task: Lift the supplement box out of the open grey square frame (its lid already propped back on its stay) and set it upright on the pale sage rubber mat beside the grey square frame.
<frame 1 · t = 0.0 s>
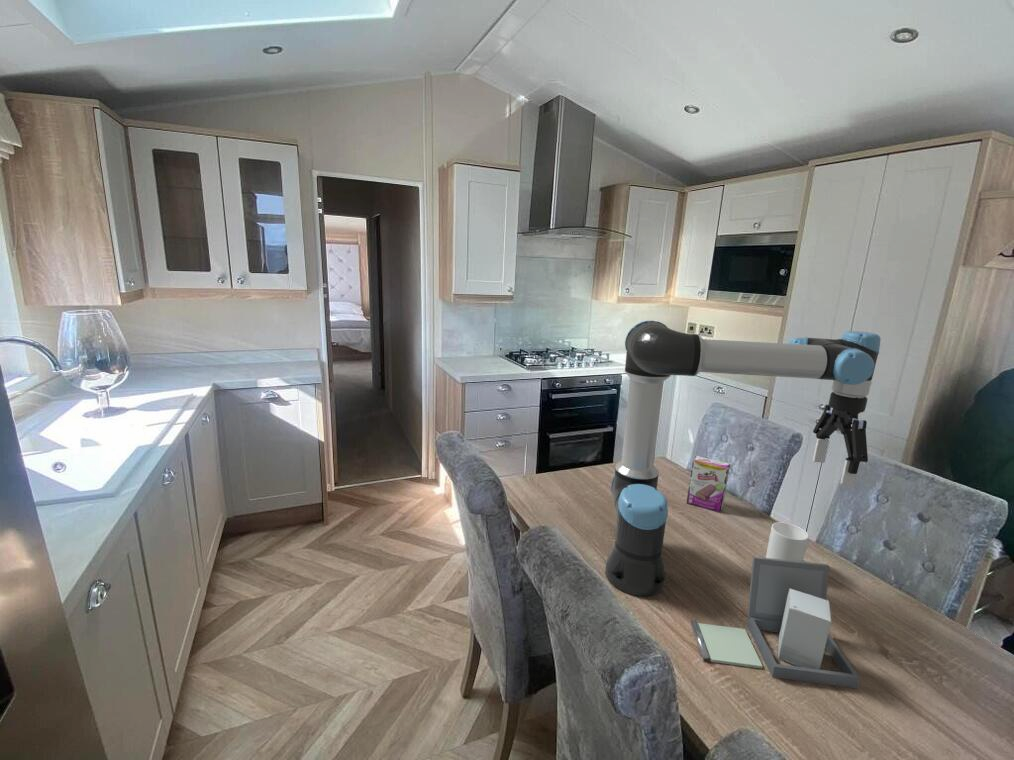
hand: (831, 472, 121), 28 cm above the table, fingers open, 13 cm apart
candy bar box: (704, 506, 158), on the table
supplement box: (797, 655, 98), resting in grey square frame
mat: (728, 645, 99), on the table
grey square frame: (797, 654, 97), on the table
lid: (787, 590, 103), point 9 cm above the table, hinge at 100.0°
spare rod: (699, 642, 100), on the table
mug: (787, 565, 128), on the table
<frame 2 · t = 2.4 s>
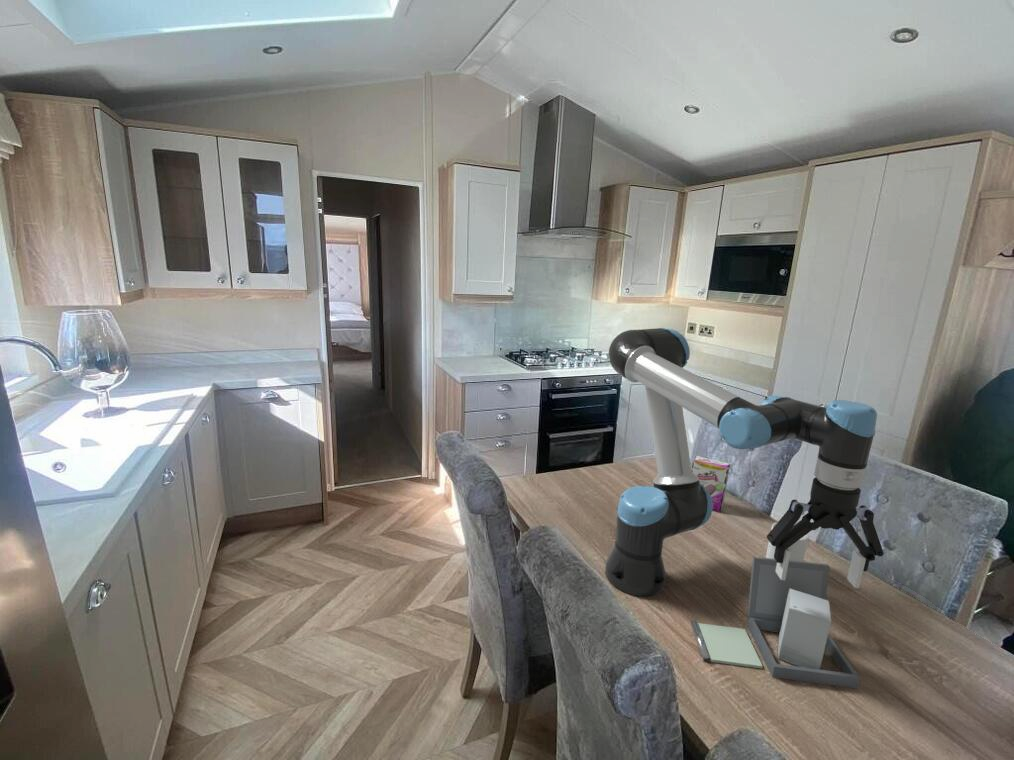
hand: (816, 579, 93), 18 cm above the table, fingers open, 13 cm apart
nothing on the table moved.
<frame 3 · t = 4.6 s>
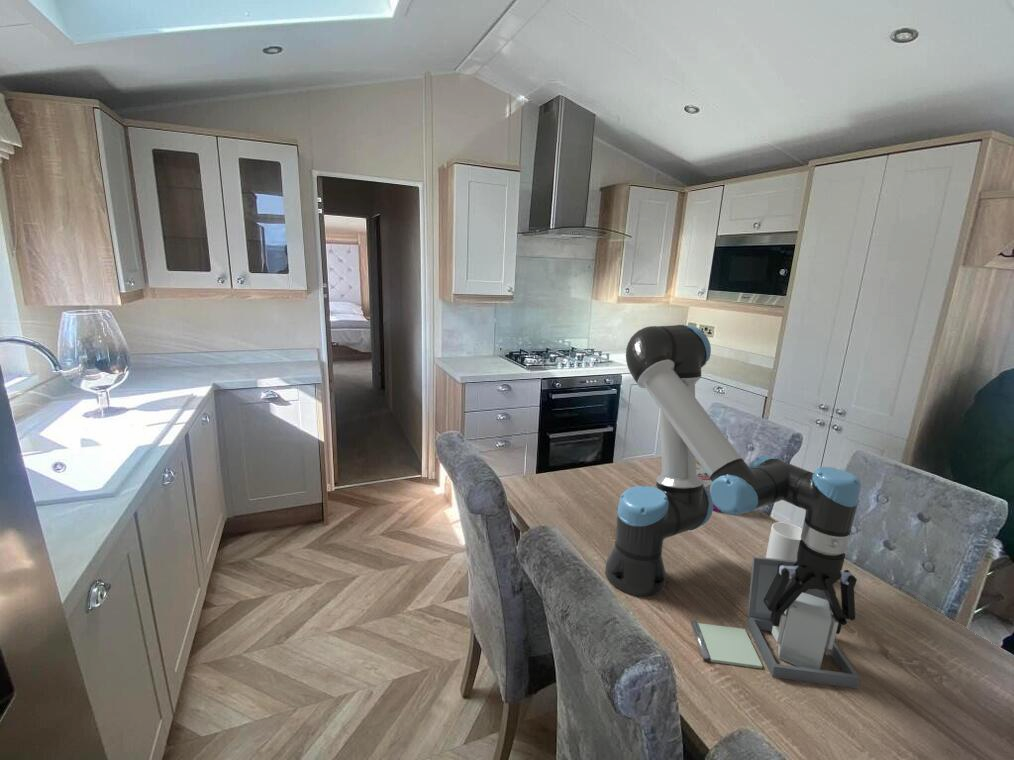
hand: (801, 640, 97), 4 cm above the table, fingers closed on supplement box, 9 cm apart
supplement box: (797, 655, 98), resting in grey square frame, touching gripper
everything else where it was.
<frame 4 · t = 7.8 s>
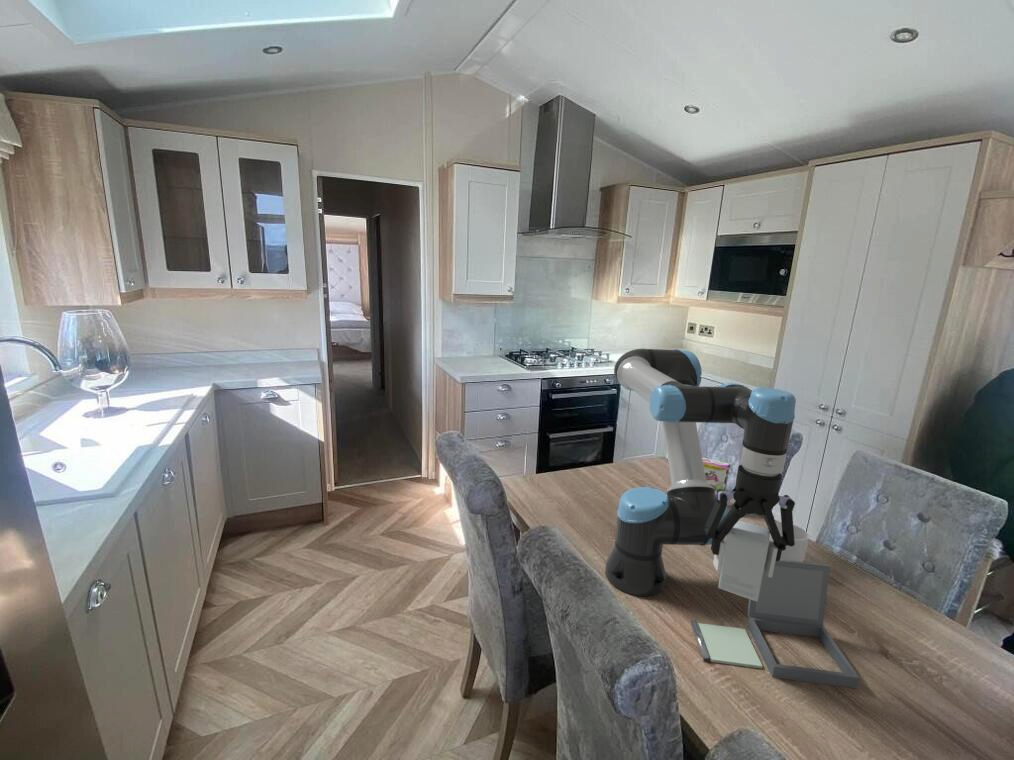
hand: (741, 570, 95), 19 cm above the table, fingers closed on supplement box, 9 cm apart
supplement box: (739, 586, 96), point 15 cm above the table, touching gripper
everything else where it was.
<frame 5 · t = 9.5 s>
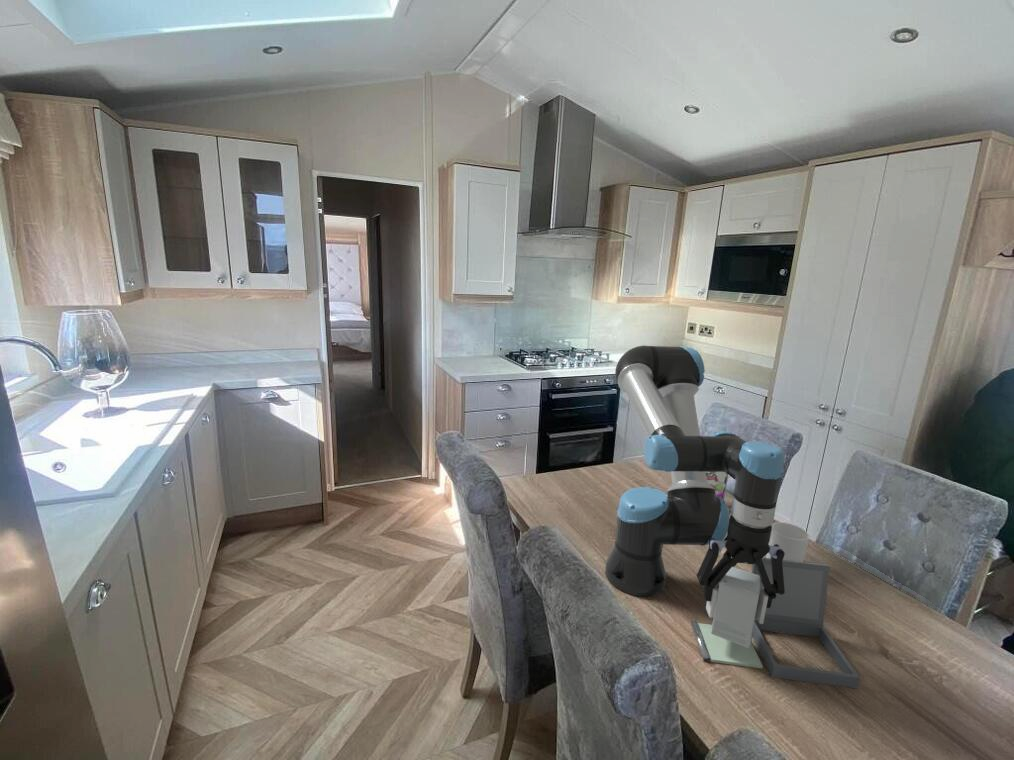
hand: (733, 615, 97), 8 cm above the table, fingers closed on supplement box, 9 cm apart
supplement box: (731, 631, 98), point 4 cm above the table, touching gripper
everything else where it was.
when the fingers open (5 cm above the table, at t = 10.9 s): supplement box drops 1 cm, resting on mat.
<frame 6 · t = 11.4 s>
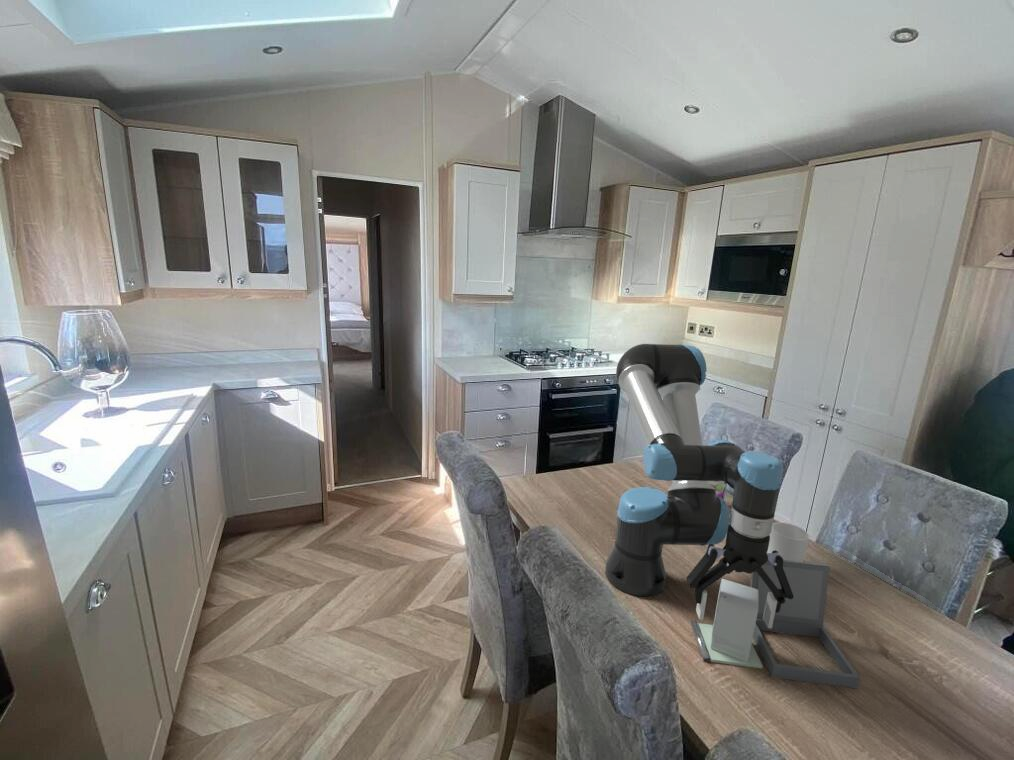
hand: (733, 619, 98), 7 cm above the table, fingers open, 13 cm apart
supplement box: (729, 644, 99), resting on mat
everything else where it was.
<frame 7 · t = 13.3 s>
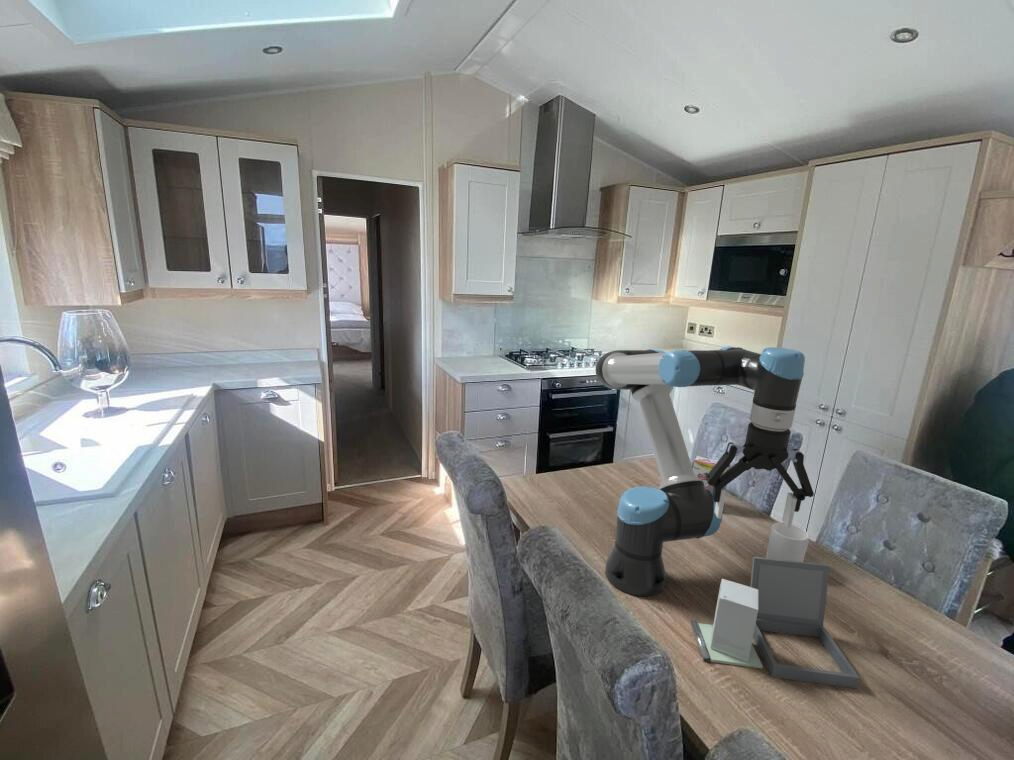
hand: (751, 519, 98), 27 cm above the table, fingers open, 13 cm apart
nothing on the table moved.
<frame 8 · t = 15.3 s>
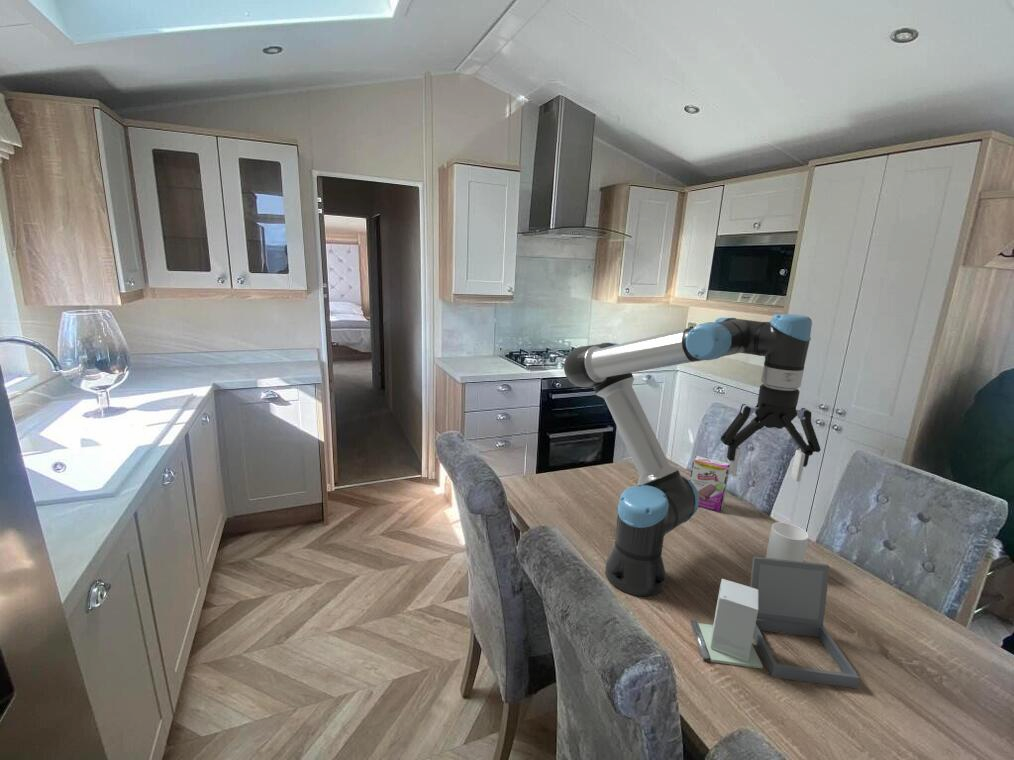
hand: (763, 476, 106), 33 cm above the table, fingers open, 13 cm apart
nothing on the table moved.
at the end: supplement box inside the target area on the mat (0.2 cm from its centre), point 0.4 cm above the mat's base; supplement box tilted 0°; lid at +100° (first picture: +100°) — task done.
